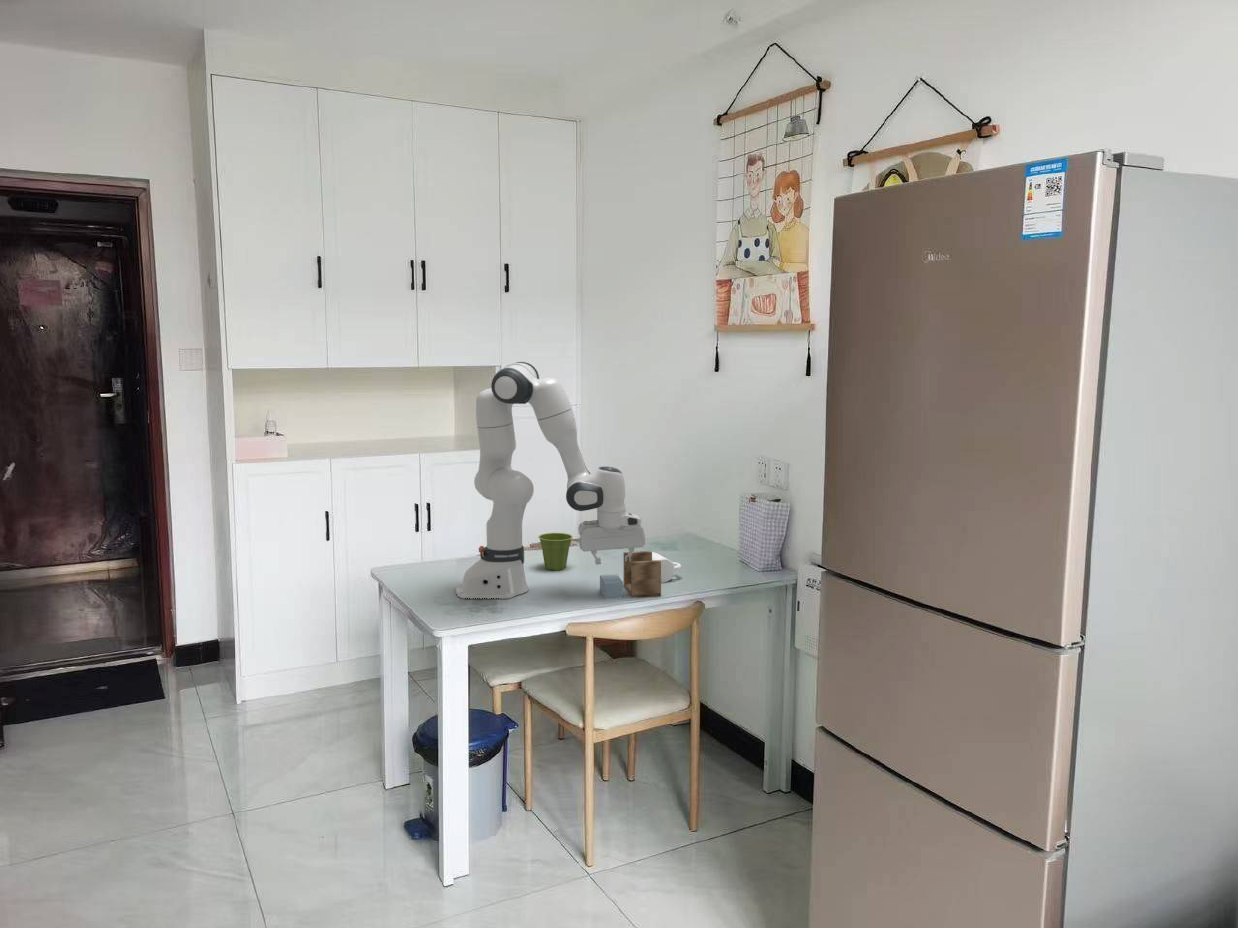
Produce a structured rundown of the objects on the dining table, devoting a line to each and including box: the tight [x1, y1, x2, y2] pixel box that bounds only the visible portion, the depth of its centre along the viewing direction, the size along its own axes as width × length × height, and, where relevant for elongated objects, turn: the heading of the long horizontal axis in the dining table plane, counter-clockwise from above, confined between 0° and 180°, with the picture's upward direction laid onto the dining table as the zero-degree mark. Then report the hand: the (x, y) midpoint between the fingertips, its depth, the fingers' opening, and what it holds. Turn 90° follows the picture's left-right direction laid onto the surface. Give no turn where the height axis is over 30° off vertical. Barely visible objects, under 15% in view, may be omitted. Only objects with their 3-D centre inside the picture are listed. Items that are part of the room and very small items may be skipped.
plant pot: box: [537, 532, 574, 571], centre depth 311 cm, size 12×12×11 cm
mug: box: [652, 551, 682, 584], centre depth 298 cm, size 12×10×8 cm
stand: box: [623, 550, 662, 599], centre depth 283 cm, size 9×14×11 cm, turn 11°
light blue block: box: [599, 573, 624, 599], centre depth 281 cm, size 6×10×5 cm, turn 11°
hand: (613, 562), depth 280 cm, fingers open, 8 cm apart
